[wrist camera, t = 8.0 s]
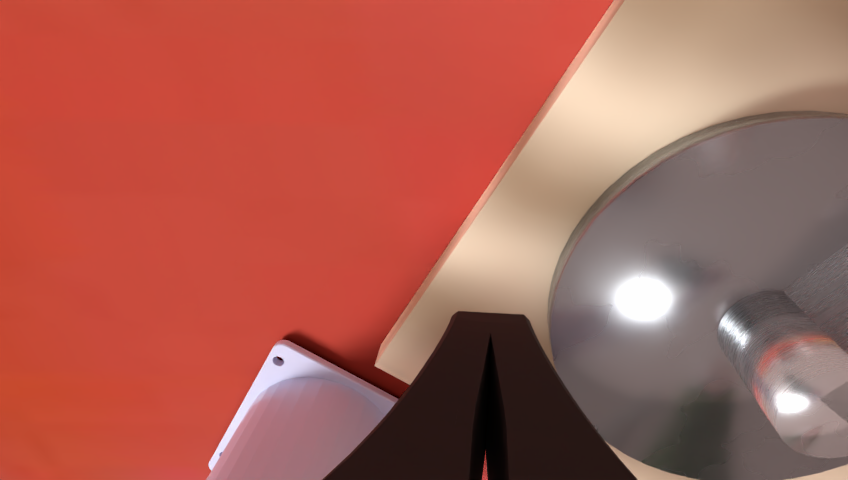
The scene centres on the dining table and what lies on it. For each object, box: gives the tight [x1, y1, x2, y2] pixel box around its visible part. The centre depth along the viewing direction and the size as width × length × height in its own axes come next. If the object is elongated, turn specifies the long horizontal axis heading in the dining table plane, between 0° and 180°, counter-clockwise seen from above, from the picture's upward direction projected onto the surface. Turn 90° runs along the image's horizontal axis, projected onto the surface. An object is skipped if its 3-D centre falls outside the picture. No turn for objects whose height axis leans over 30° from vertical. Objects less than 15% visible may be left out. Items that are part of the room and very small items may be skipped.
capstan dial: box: [547, 110, 848, 480], centre depth 15 cm, size 17×14×5 cm
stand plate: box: [374, 0, 848, 480], centre depth 19 cm, size 20×20×2 cm
